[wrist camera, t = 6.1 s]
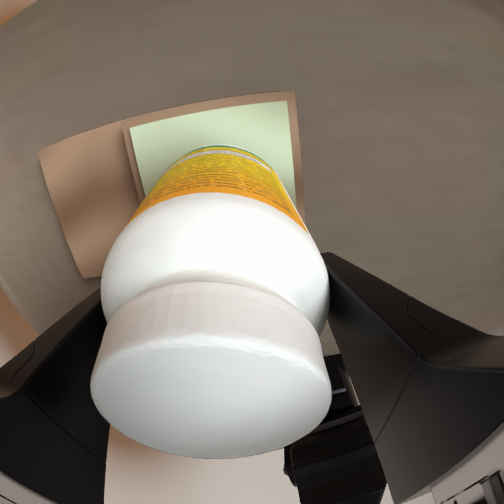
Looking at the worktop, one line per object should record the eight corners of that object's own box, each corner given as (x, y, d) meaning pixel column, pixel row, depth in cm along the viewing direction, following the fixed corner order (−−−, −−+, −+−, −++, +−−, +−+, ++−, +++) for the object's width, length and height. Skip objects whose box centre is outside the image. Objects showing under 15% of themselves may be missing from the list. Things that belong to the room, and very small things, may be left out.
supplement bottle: (302, 225, 16) (392, 423, 6) (200, 275, 17) (185, 479, 7) (246, 116, 13) (309, 202, 3) (134, 183, 14) (2, 364, 4)
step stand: (296, 236, 21) (307, 261, 18) (89, 267, 21) (74, 293, 18) (283, 90, 16) (295, 90, 13) (48, 145, 16) (22, 157, 13)
